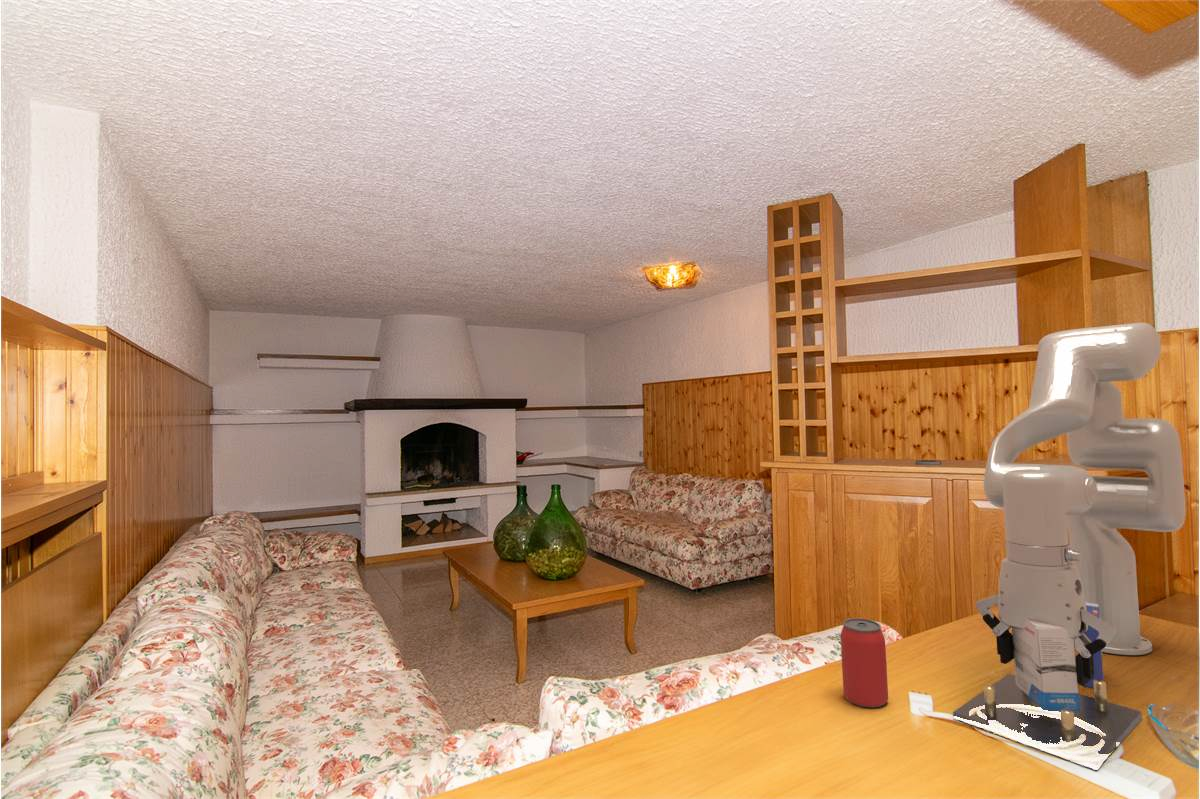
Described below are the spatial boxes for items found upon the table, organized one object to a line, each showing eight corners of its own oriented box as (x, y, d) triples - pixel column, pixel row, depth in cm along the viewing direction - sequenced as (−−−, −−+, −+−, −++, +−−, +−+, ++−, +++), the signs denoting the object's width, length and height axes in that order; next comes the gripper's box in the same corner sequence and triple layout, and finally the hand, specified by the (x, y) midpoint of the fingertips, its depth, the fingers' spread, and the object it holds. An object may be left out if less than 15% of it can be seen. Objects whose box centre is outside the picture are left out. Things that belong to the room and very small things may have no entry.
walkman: (1104, 690, 96) (1099, 614, 96) (1081, 685, 98) (1077, 611, 98) (1103, 672, 102) (1098, 601, 102) (1082, 668, 104) (1078, 599, 104)
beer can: (888, 693, 98) (884, 619, 98) (888, 712, 92) (884, 633, 92) (844, 687, 101) (841, 615, 101) (842, 705, 95) (838, 628, 95)
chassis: (1009, 679, 101) (1007, 649, 101) (1142, 718, 87) (1139, 683, 87) (953, 718, 89) (951, 684, 89) (1096, 771, 76) (1094, 730, 76)
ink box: (1082, 713, 84) (1076, 628, 84) (1041, 711, 85) (1036, 627, 85) (1049, 685, 92) (1044, 608, 92) (1013, 683, 93) (1008, 607, 93)
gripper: (1120, 559, 84) (1127, 683, 84) (983, 541, 98) (989, 647, 98) (1102, 569, 80) (1110, 700, 79) (962, 549, 94) (968, 660, 93)
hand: (1043, 671), depth 88 cm, fingers closed on ink box, 9 cm apart
